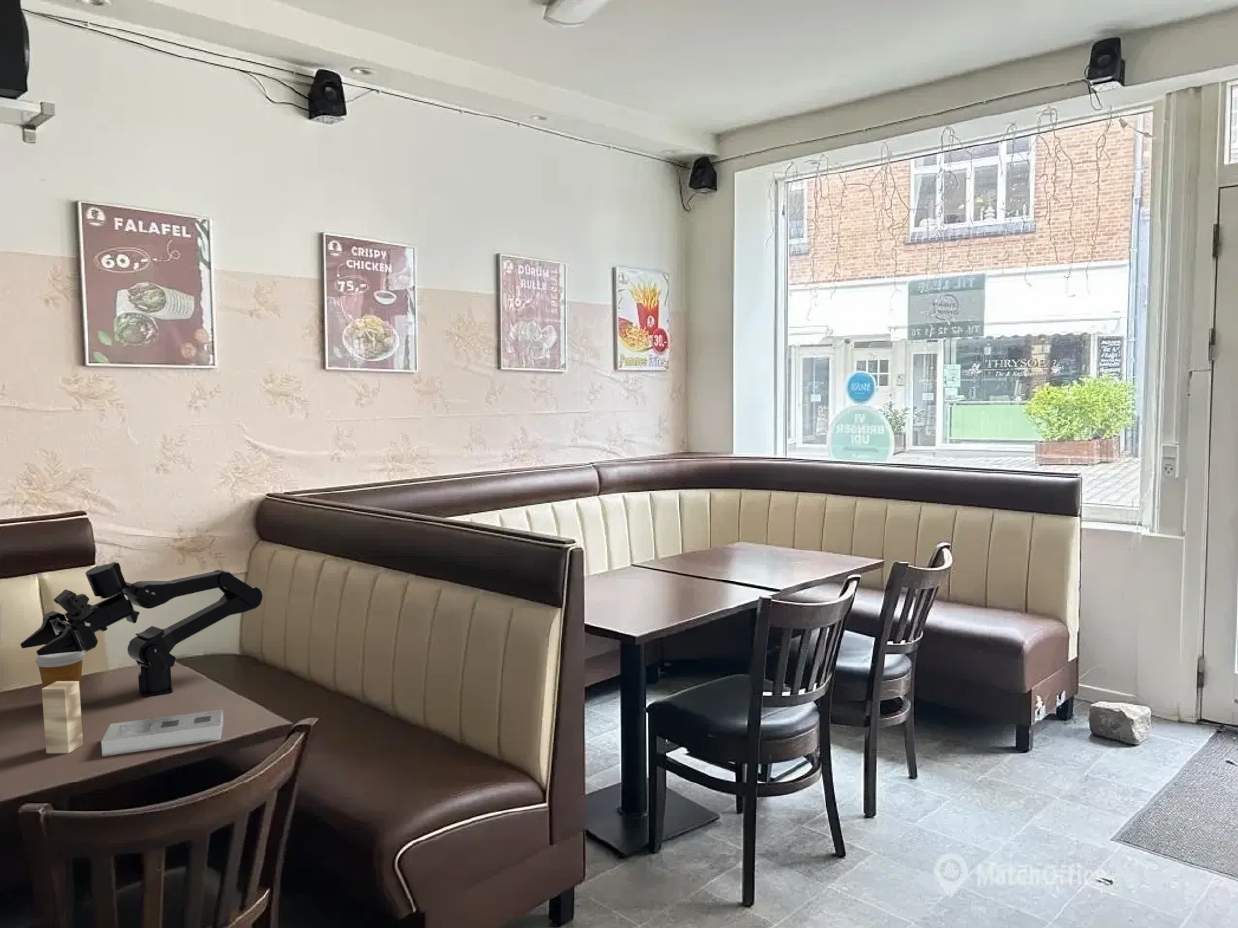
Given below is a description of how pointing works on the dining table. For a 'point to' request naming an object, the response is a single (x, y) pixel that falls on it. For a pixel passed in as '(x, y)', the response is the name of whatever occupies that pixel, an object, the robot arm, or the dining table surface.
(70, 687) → the beech peg
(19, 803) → the dining table surface
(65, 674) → the disposable coffee cup
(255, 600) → the robot arm
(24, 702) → the dining table surface
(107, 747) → the white flat block
